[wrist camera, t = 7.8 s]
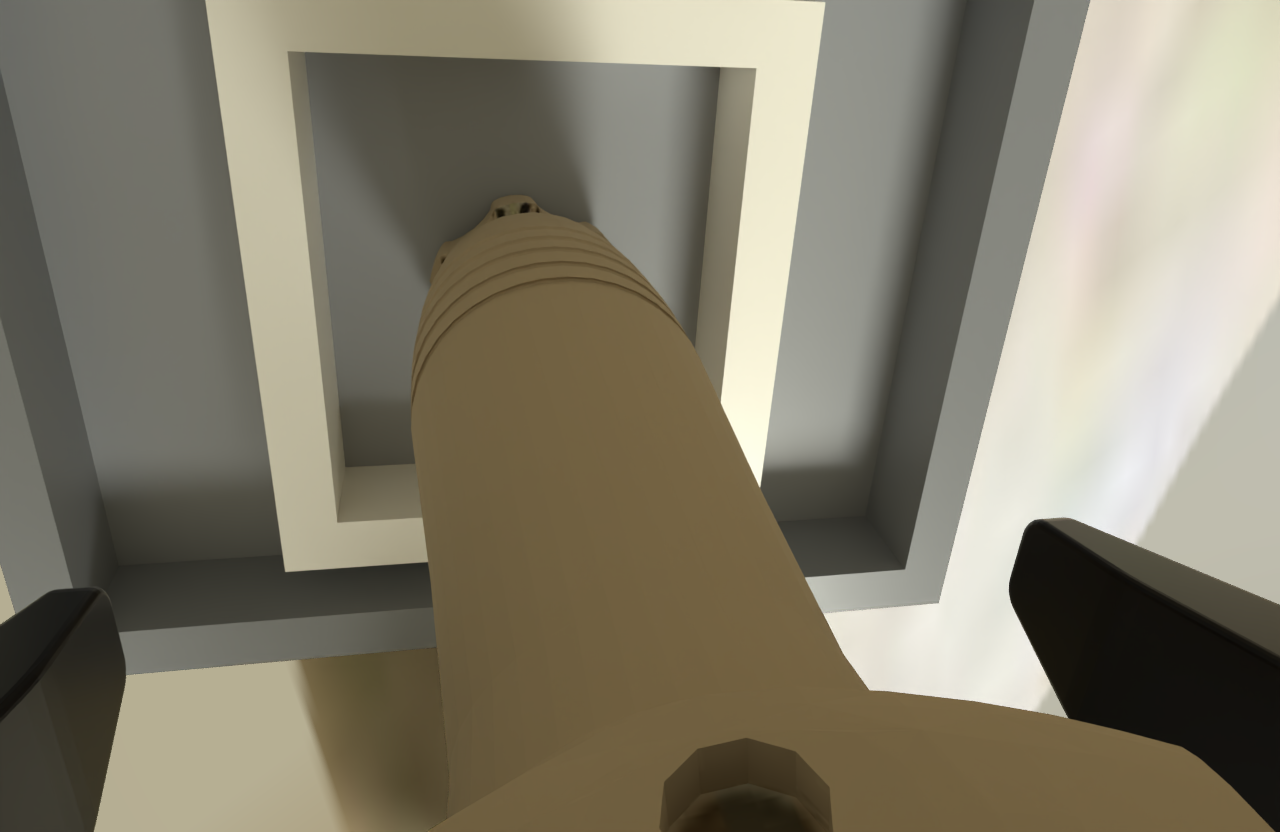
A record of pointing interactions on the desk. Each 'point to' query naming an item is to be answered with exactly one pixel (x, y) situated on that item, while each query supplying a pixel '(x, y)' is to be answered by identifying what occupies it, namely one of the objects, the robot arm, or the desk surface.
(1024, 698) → the desk surface
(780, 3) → the walled box
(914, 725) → the handle
